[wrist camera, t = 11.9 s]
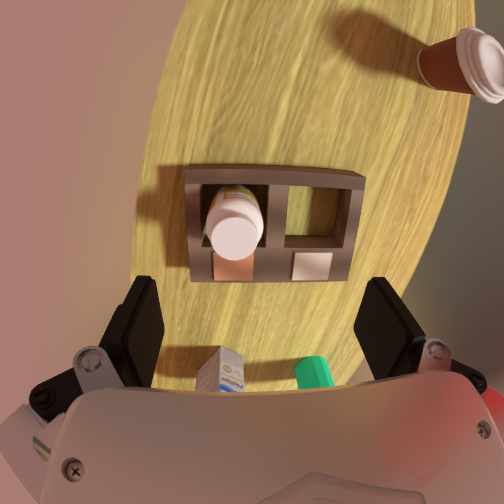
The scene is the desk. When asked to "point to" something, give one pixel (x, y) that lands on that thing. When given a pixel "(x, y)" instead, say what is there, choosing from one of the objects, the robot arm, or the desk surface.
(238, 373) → the medicine box
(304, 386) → the candle
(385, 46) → the desk surface
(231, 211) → the supplement bottle
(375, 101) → the desk surface
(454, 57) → the coffee cup
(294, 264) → the socket block
